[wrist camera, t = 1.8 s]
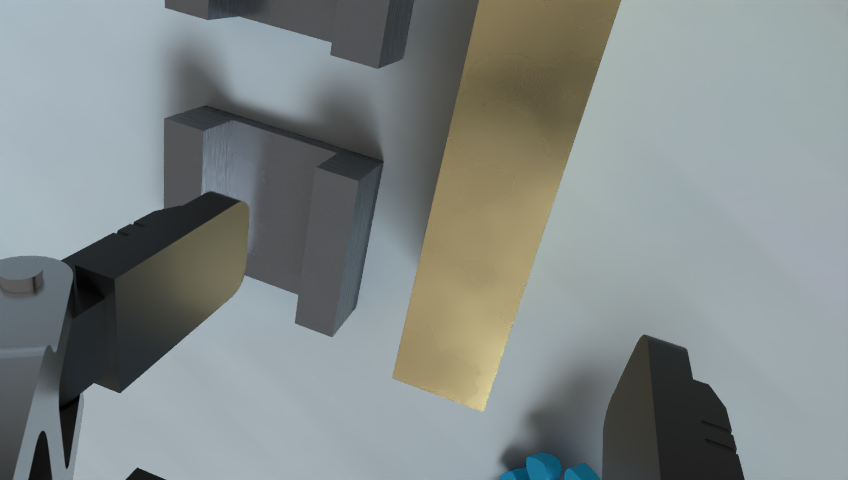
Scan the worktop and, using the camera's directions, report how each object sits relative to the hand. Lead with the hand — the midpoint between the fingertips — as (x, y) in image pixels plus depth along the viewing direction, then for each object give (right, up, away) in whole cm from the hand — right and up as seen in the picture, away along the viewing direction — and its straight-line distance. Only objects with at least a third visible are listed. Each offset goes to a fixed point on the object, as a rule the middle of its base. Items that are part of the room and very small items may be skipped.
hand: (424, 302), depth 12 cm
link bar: (+4, +5, +10) cm, 12 cm away
